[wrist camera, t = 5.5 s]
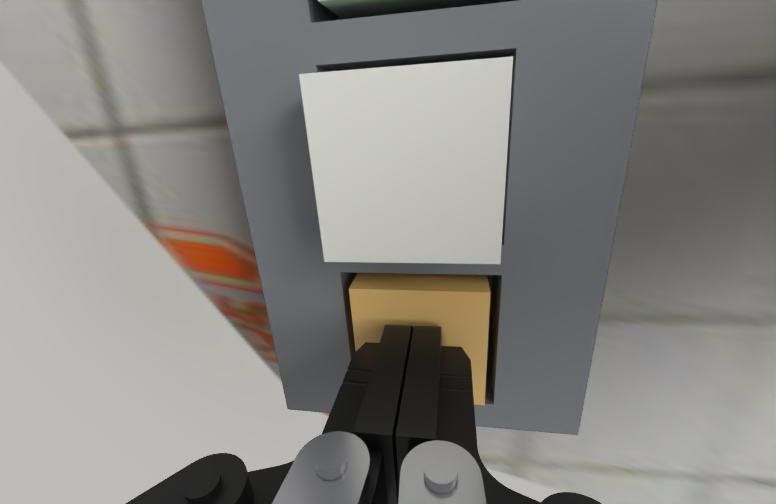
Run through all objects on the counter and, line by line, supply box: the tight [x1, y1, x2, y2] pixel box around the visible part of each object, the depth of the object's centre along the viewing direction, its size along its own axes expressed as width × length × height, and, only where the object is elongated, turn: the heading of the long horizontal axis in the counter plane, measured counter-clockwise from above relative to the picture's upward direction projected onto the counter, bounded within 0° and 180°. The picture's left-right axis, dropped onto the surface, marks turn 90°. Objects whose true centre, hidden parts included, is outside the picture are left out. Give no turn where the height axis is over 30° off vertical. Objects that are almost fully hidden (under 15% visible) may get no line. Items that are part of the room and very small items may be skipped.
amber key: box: [349, 273, 491, 405], centre depth 11 cm, size 4×4×2 cm
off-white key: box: [299, 56, 513, 264], centre depth 8 cm, size 4×4×2 cm
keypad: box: [201, 0, 657, 435], centre depth 10 cm, size 9×16×4 cm, turn 3°
